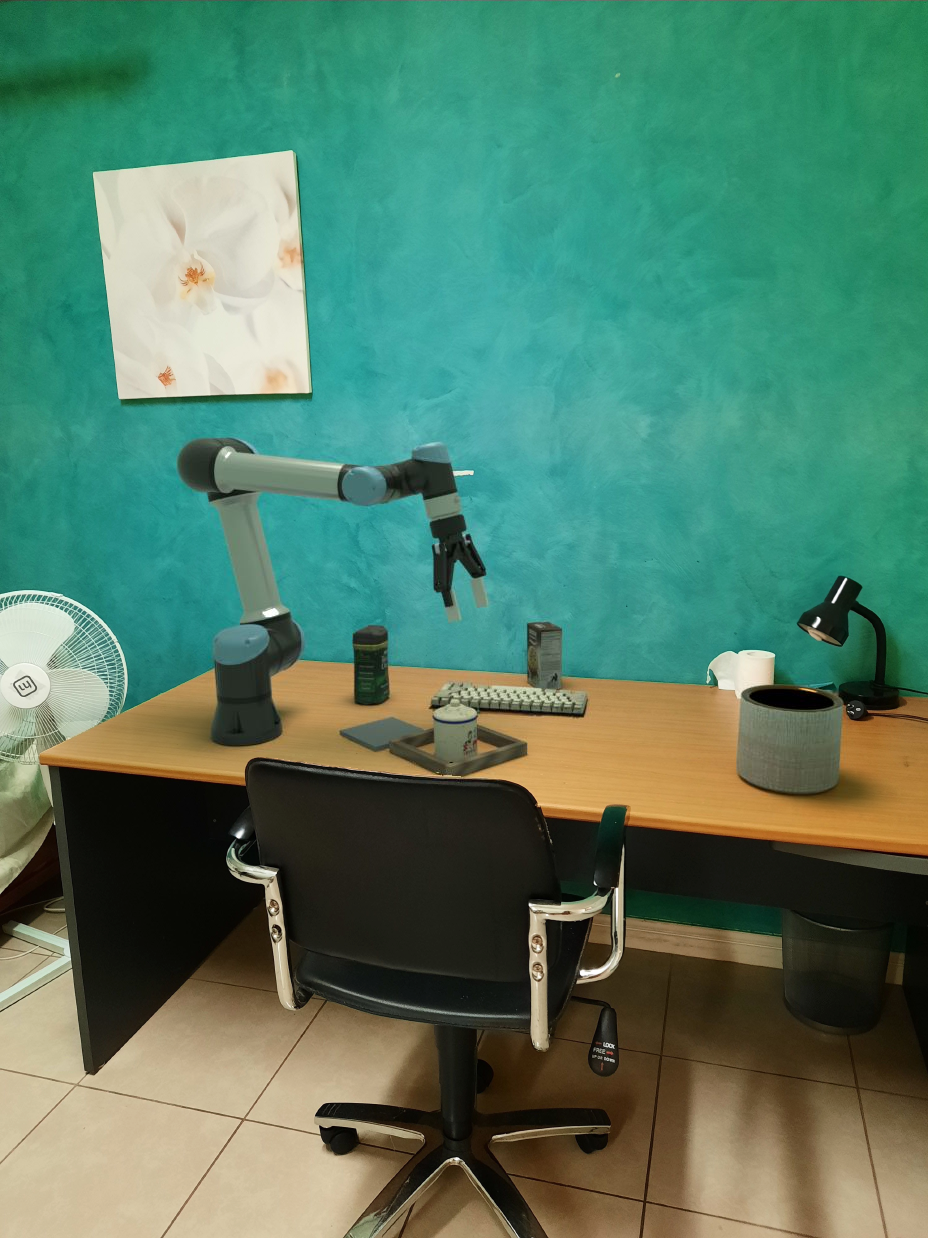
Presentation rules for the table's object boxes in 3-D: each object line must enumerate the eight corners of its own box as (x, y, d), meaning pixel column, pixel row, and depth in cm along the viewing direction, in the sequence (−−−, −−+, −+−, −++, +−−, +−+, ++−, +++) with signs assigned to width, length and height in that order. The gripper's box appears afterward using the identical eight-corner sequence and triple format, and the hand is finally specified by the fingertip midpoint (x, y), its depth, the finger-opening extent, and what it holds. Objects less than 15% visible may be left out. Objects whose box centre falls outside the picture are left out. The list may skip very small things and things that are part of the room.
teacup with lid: (472, 765, 165) (471, 708, 162) (427, 762, 167) (426, 705, 165) (486, 744, 176) (485, 691, 174) (444, 741, 178) (443, 688, 176)
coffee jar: (380, 706, 203) (377, 631, 200) (350, 704, 205) (346, 630, 202) (394, 695, 212) (392, 623, 209) (365, 693, 214) (362, 622, 211)
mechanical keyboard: (589, 697, 210) (590, 684, 209) (584, 722, 192) (584, 708, 191) (442, 691, 218) (442, 679, 217) (423, 715, 199) (423, 701, 199)
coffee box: (525, 682, 222) (525, 622, 219) (548, 680, 224) (548, 620, 221) (539, 691, 214) (539, 629, 210) (562, 689, 215) (562, 627, 212)
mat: (375, 751, 173) (375, 747, 173) (339, 734, 183) (339, 730, 183) (429, 736, 182) (429, 731, 182) (392, 721, 192) (392, 716, 192)
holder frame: (450, 779, 158) (450, 767, 157) (389, 751, 173) (388, 740, 172) (527, 754, 170) (527, 742, 170) (464, 730, 185) (463, 719, 185)
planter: (723, 784, 154) (727, 702, 151) (750, 754, 168) (754, 679, 165) (827, 805, 144) (833, 718, 141) (846, 772, 158) (852, 692, 155)
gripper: (432, 520, 164) (458, 625, 167) (486, 506, 186) (508, 598, 189) (400, 528, 168) (426, 630, 171) (457, 513, 190) (479, 603, 193)
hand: (469, 613), depth 180 cm, fingers open, 13 cm apart
